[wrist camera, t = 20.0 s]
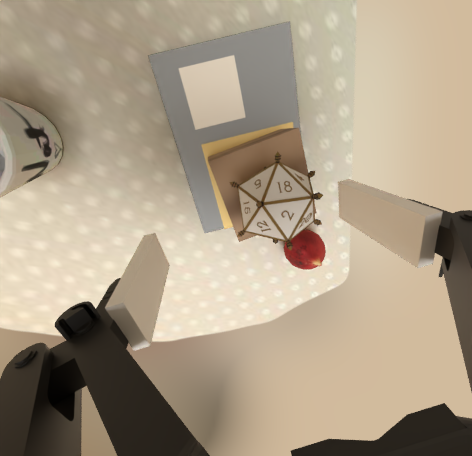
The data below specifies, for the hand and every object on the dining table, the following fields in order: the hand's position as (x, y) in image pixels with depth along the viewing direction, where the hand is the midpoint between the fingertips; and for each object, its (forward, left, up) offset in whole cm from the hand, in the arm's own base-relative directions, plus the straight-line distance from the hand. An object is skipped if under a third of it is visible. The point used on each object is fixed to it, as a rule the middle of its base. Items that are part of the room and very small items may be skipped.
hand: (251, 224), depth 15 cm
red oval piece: (+12, +8, -18) cm, 23 cm away
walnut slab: (+1, +4, -16) cm, 16 cm away
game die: (+1, +3, -10) cm, 11 cm away
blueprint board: (-4, +3, -17) cm, 18 cm away
